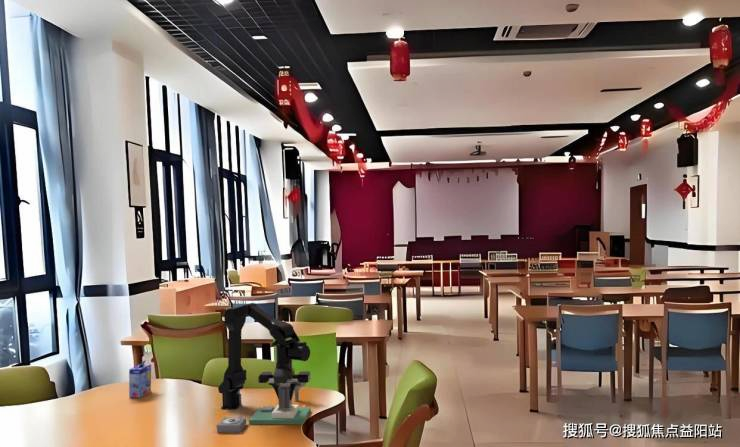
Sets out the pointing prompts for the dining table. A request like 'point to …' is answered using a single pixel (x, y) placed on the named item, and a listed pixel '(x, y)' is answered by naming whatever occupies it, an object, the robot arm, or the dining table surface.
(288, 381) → the mechanical component
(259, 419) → the board
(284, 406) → the plug
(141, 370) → the ink cartridge box
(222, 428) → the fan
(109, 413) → the dining table surface
